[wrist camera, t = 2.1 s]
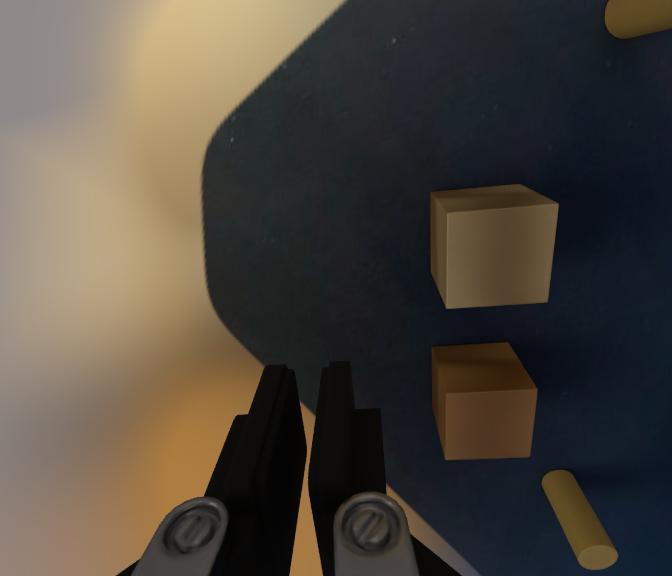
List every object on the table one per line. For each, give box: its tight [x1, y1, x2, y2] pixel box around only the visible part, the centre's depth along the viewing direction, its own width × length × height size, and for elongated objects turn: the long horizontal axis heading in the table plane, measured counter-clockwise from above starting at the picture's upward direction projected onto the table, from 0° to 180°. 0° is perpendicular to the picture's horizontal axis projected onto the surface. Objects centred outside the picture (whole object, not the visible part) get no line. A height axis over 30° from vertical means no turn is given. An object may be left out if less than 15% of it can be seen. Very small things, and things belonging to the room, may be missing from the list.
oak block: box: [432, 342, 538, 460], centre depth 27 cm, size 5×5×5 cm
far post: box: [542, 470, 618, 570], centre depth 30 cm, size 2×2×6 cm
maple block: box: [430, 184, 559, 309], centre depth 22 cm, size 5×5×5 cm
